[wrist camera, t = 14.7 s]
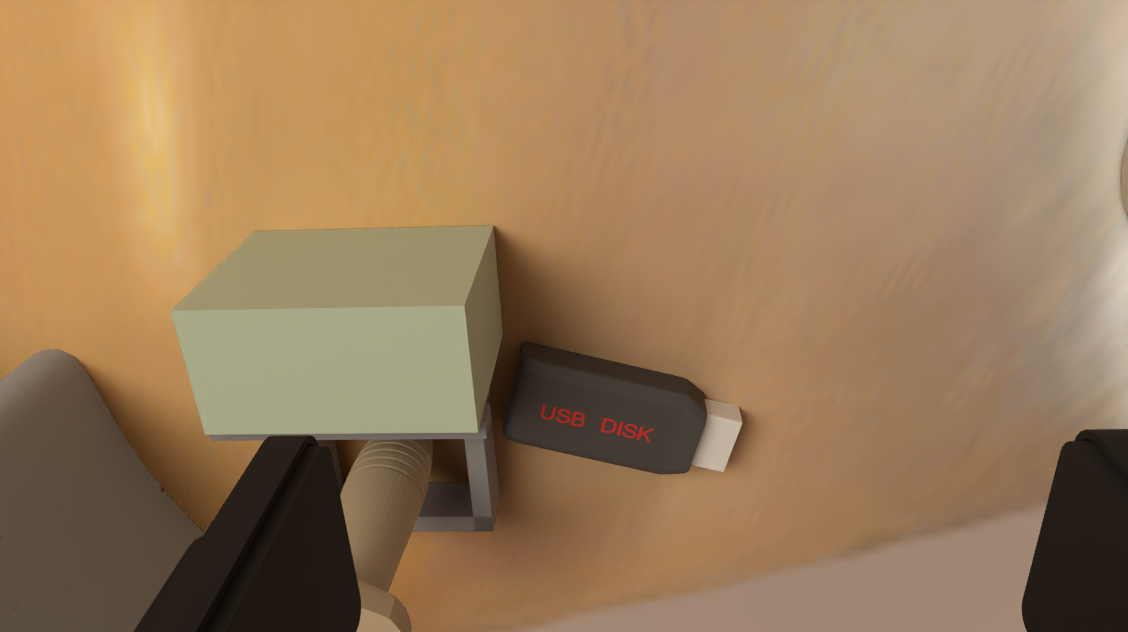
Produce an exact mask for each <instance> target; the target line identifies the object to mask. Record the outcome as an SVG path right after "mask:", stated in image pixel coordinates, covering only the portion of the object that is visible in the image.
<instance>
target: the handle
mask: <svg viewBox="0 0 1128 632" xmlns="http://www.w3.org/2000/svg"><path fill="white" fill-rule="evenodd" d="M434 447H435V441H434V439H379V440H368V441H367V443H366V444H365V446H364V447H363V449H362V450H361V452H360V454H359V455H358V457H357V459H356V460H355V462H354V464H353V466H352V468H351V470H350V472H349V475H348V477H347V479H346V481H345V484H344V486H343V489H342V492H341V495H340V497H341V502H342V507H343V512H344V517H345V522H346V527H347V532H348V537H349V541H350V546H351V551H352V556H353V561H354V566H355V571H356V576H357V581H358V586H359V591H360V596H361V616H360V622H359V626H358V629H357V632H411V623H410V618H409V615H408V613H407V611H406V609H405V607H404V606H403V605H402V603H401V602H400V601H399V600H398V599H397V598H396V597H395V596H393V595H391V594H389V593H388V591H389V588H390V585H391V583H392V580H393V578H394V575H395V572H396V570H397V567H398V565H399V562H400V559H401V557H402V554H403V552H404V550H405V547H406V545H407V542H408V540H409V538H410V535H411V533H412V530H413V528H414V526H415V523H416V521H417V518H418V516H419V514H420V511H421V508H422V505H423V502H424V499H425V496H426V492H427V488H428V484H429V479H430V474H431V467H432V456H433V453H434Z"/></svg>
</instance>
